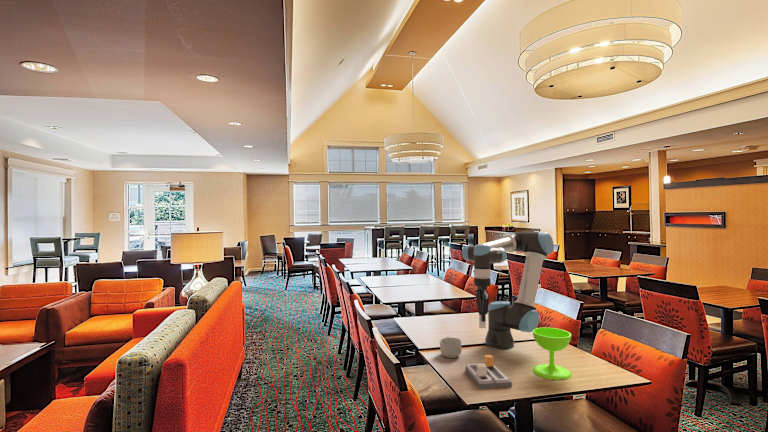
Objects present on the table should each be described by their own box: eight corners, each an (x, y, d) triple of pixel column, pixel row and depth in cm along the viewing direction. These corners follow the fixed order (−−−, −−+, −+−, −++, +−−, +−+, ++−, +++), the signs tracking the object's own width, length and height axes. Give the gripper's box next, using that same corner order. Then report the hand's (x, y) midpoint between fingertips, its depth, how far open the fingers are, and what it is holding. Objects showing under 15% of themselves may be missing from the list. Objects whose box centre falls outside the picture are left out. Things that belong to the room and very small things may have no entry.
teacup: (461, 360, 190) (461, 344, 190) (439, 359, 192) (438, 343, 192) (461, 351, 204) (461, 335, 204) (440, 349, 206) (440, 334, 206)
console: (495, 369, 179) (495, 362, 179) (511, 386, 161) (511, 379, 161) (465, 371, 177) (465, 364, 177) (478, 388, 159) (478, 380, 159)
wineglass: (527, 365, 183) (527, 327, 183) (562, 365, 183) (562, 327, 183) (540, 380, 167) (540, 338, 167) (578, 380, 167) (578, 338, 167)
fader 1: (484, 376, 166) (484, 363, 166) (486, 378, 163) (486, 366, 163) (476, 376, 166) (476, 363, 166) (479, 379, 163) (479, 366, 163)
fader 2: (491, 366, 177) (491, 354, 177) (493, 368, 174) (493, 356, 174) (484, 366, 177) (484, 354, 177) (486, 369, 174) (486, 357, 174)
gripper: (469, 275, 189) (470, 324, 189) (479, 279, 176) (479, 332, 176) (484, 275, 190) (485, 323, 190) (495, 279, 177) (495, 331, 177)
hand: (482, 327), depth 183 cm, fingers closed
